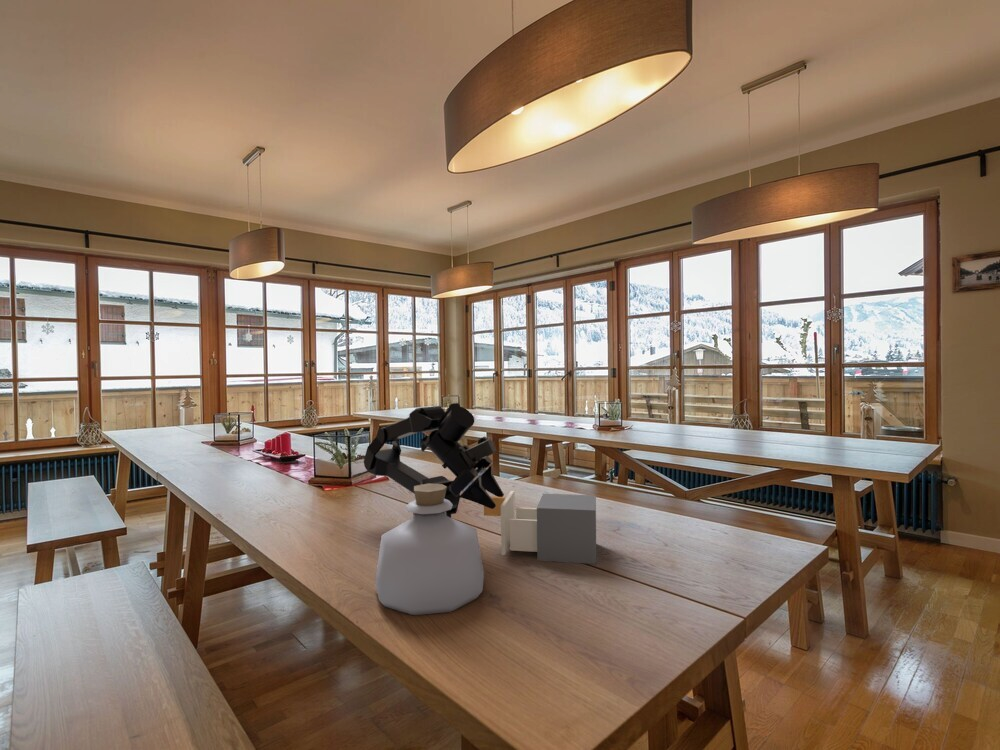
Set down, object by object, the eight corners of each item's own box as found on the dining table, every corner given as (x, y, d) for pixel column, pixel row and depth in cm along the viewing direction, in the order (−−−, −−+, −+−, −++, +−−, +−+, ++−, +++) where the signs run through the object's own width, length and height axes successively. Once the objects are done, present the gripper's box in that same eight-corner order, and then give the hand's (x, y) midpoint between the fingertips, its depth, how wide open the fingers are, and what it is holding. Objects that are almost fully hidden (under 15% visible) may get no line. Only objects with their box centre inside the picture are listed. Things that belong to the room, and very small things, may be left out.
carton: (537, 560, 104) (536, 508, 104) (543, 540, 116) (543, 493, 115) (596, 564, 102) (595, 510, 101) (596, 543, 113) (595, 495, 113)
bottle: (506, 581, 94) (504, 481, 94) (443, 629, 77) (441, 507, 77) (423, 561, 104) (422, 471, 104) (351, 600, 87) (349, 493, 87)
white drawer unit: (478, 553, 106) (477, 504, 106) (490, 533, 118) (490, 490, 118) (556, 558, 103) (555, 507, 103) (560, 537, 115) (560, 492, 115)
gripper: (462, 432, 103) (516, 486, 101) (483, 422, 121) (529, 468, 119) (427, 469, 105) (479, 523, 103) (452, 454, 123) (497, 500, 121)
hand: (498, 501), depth 111 cm, fingers open, 9 cm apart
